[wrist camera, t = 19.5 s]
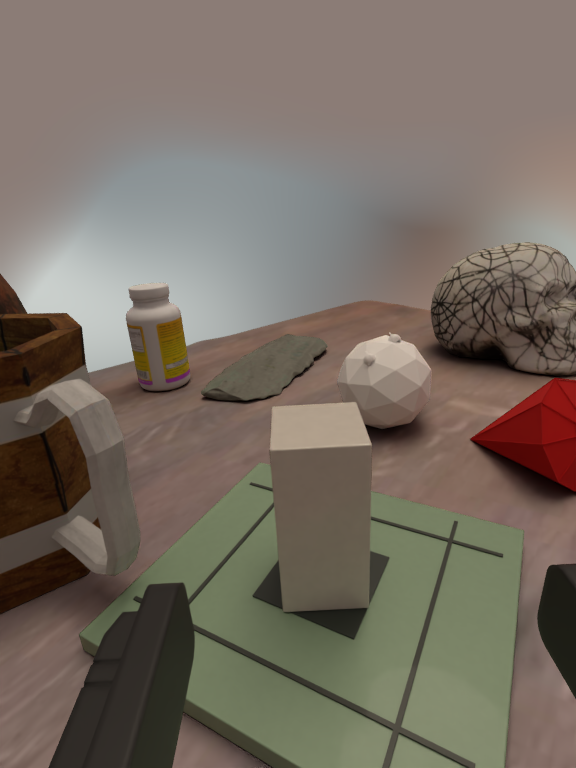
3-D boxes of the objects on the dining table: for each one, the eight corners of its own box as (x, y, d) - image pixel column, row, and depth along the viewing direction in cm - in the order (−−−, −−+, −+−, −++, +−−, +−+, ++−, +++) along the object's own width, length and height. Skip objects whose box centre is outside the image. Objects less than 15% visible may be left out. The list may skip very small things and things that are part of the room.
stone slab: (330, 355, 69) (272, 342, 73) (332, 338, 68) (273, 326, 71) (266, 419, 51) (193, 398, 54) (267, 398, 49) (192, 378, 53)
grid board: (521, 544, 29) (524, 528, 28) (490, 903, 14) (495, 883, 14) (260, 473, 38) (259, 460, 38) (83, 650, 24) (77, 632, 23)
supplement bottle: (195, 372, 62) (182, 279, 57) (185, 391, 56) (169, 289, 51) (147, 375, 62) (130, 282, 57) (132, 394, 56) (111, 292, 51)
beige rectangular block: (356, 546, 28) (356, 401, 24) (369, 608, 24) (372, 444, 20) (282, 550, 28) (271, 405, 24) (282, 613, 24) (269, 450, 20)
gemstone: (423, 446, 38) (541, 441, 30) (459, 374, 42) (571, 352, 34) (479, 508, 41) (601, 520, 32) (507, 435, 45) (622, 428, 36)
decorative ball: (428, 483, 40) (380, 369, 35) (351, 457, 49) (305, 364, 44) (483, 425, 43) (445, 315, 39) (402, 411, 52) (364, 320, 48)
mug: (-118, 564, 31) (-227, 358, 25) (64, 467, 41) (17, 306, 35) (37, 725, 20) (-88, 439, 15) (228, 542, 31) (199, 331, 25)
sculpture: (504, 391, 51) (523, 255, 45) (409, 344, 68) (414, 242, 63) (605, 370, 55) (635, 243, 49) (490, 331, 73) (502, 234, 67)
